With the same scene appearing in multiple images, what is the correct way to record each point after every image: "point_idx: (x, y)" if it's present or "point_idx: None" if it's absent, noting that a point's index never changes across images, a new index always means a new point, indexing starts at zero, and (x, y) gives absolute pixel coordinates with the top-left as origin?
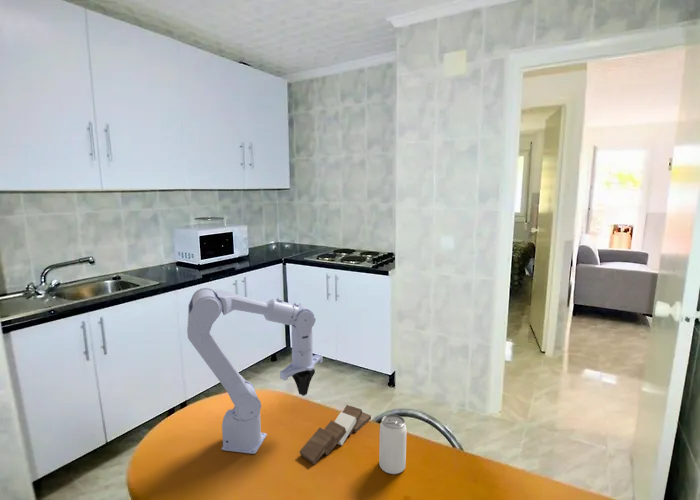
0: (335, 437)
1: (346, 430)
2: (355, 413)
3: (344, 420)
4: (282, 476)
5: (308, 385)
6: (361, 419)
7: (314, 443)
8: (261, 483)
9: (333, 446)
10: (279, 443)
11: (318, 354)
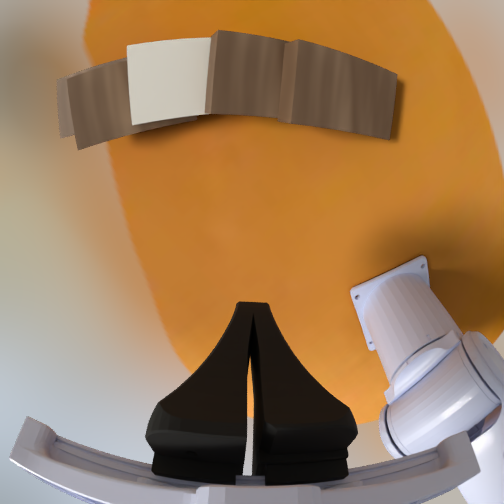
0: (277, 45)
1: (203, 41)
2: (95, 83)
3: (163, 77)
4: (453, 135)
5: (231, 338)
6: None
7: (355, 100)
8: (481, 169)
9: None
10: (361, 233)
11: (36, 477)
